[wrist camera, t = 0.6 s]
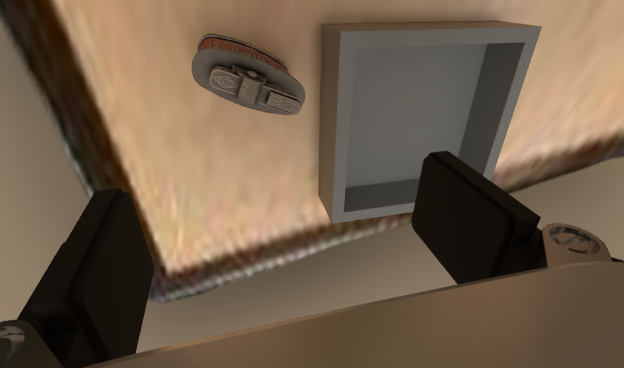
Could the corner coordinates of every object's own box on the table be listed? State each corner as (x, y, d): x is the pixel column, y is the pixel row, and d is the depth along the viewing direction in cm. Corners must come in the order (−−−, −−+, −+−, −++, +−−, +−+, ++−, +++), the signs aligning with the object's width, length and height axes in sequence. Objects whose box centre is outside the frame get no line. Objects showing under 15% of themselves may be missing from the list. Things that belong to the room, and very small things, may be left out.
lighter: (193, 64, 28) (182, 98, 20) (203, 24, 27) (196, 42, 19) (280, 96, 32) (302, 136, 23) (293, 61, 30) (321, 90, 22)
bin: (496, 20, 33) (541, 26, 28) (455, 177, 42) (483, 201, 38) (321, 24, 29) (340, 31, 25) (318, 195, 38) (332, 223, 34)
